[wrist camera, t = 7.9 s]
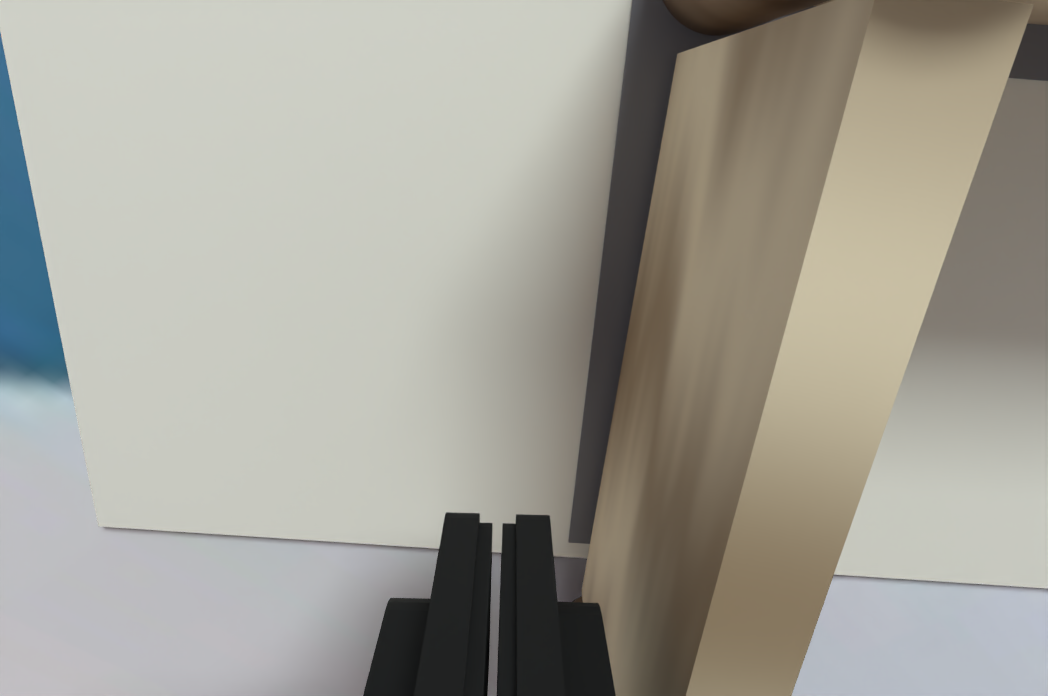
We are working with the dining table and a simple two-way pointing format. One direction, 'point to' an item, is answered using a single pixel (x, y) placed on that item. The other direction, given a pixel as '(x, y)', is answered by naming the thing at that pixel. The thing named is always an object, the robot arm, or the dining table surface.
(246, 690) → the dining table surface
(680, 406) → the fence swing section
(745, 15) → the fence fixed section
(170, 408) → the card
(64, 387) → the dining table surface
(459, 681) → the robot arm
